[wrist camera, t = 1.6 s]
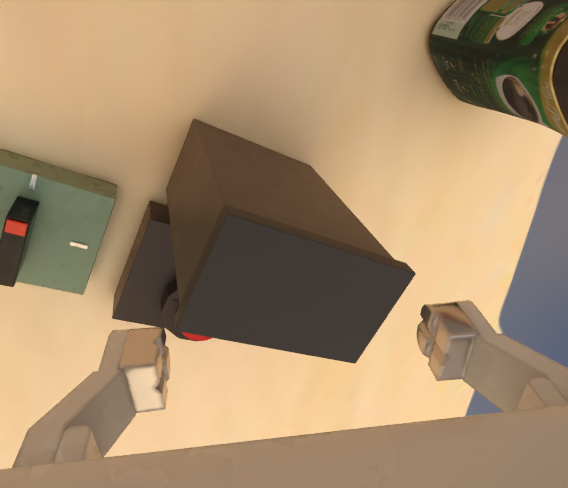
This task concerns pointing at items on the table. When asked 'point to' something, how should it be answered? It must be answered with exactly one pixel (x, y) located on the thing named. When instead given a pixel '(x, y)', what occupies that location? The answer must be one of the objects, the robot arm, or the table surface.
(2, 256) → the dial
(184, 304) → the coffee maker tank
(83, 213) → the panel
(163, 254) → the dark grey tall panel
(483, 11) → the coffee jar
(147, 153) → the table surface
